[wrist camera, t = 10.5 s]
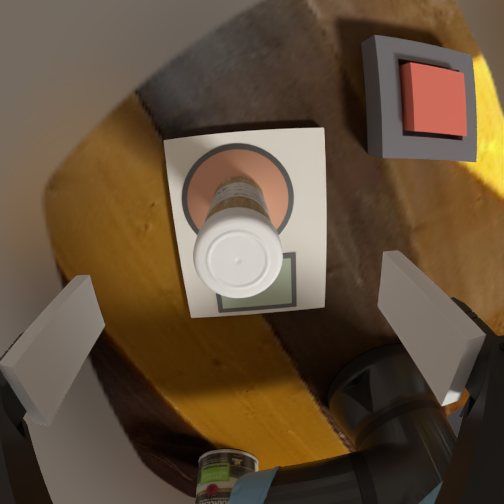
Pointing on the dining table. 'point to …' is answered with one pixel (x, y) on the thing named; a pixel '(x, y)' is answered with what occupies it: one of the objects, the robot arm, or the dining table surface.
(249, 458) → the coffee can
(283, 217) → the picture board
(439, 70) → the button
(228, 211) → the spice jar
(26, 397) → the robot arm
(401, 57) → the button housing
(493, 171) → the dining table surface
